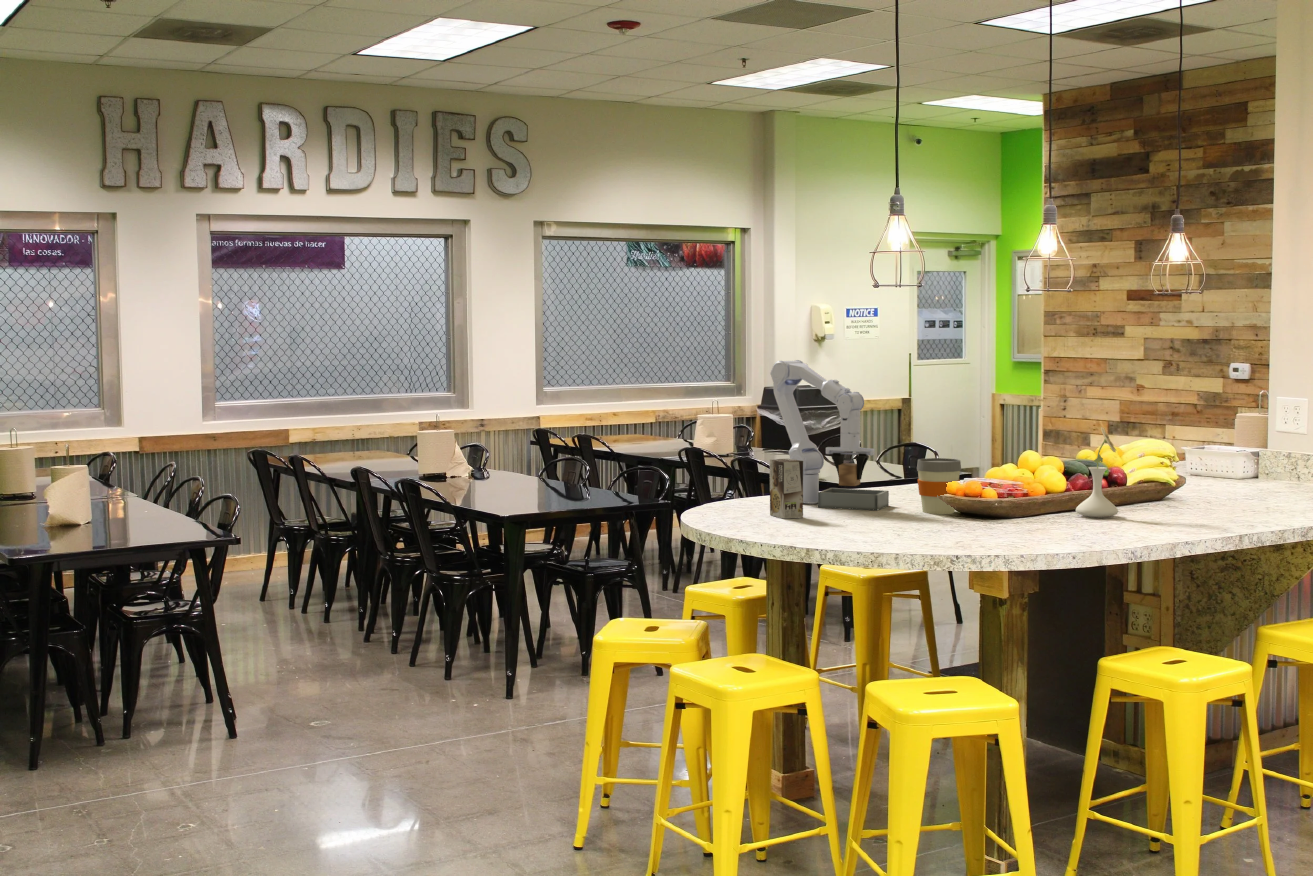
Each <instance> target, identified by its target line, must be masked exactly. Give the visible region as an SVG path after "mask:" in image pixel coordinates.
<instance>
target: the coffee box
mask: <svg viewBox="0 0 1313 876" xmlns="http://www.w3.org/2000/svg"><path fill="white" fill-rule="evenodd" d="M769 516H771V517H772V516H773V517H776V518H781V519H783V520H786V519H800V518H801V519H803V518H804V503H803V461H800V460H794V459H790V458H776V459H769Z"/></svg>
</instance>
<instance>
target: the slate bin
mask: <svg viewBox="0 0 1313 876" xmlns="http://www.w3.org/2000/svg"><path fill="white" fill-rule="evenodd" d="M889 492H890V491H889V490H883V489H882V490H881V489H880V490H878V489H864V488H863V489H861V488H859V489H858V488H857V489H856V488H838V487H829V488H827V489H824V490H822V491H819V492H818V503H817V507H818V509H819V508H823V509H838V508H842V509H841V510H858V511H859V510H861V511H880V510H881V509H885V508H886V507H889V506H890V505H889V498H890V497H889V495H890V493H889Z"/></svg>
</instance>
